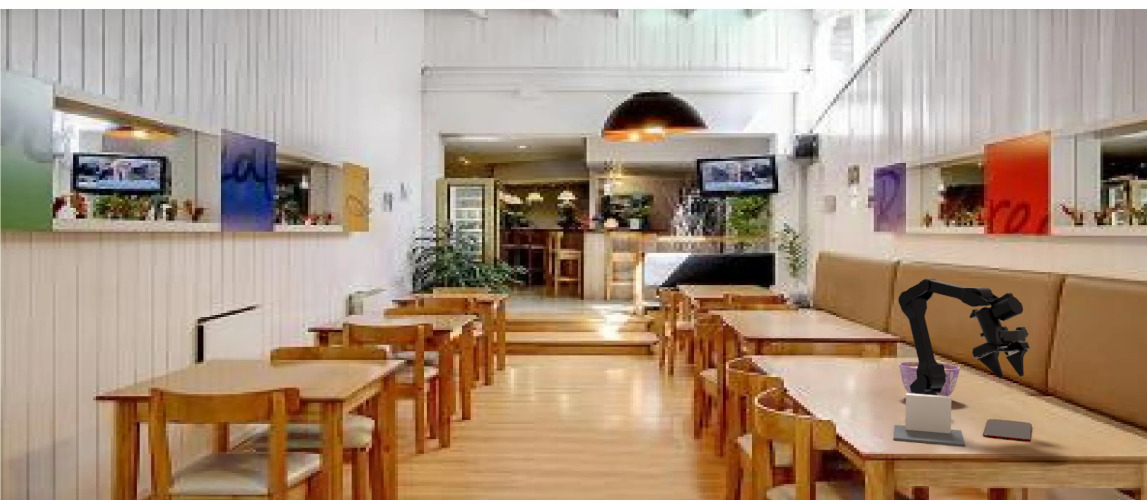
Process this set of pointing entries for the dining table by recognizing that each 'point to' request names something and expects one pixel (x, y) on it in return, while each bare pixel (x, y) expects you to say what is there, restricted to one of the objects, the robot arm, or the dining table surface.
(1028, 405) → the dining table surface
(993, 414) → the dining table surface
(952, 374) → the lavender translucent bowl
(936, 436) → the charcoal mat
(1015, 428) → the smartphone
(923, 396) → the cream and orange slab
